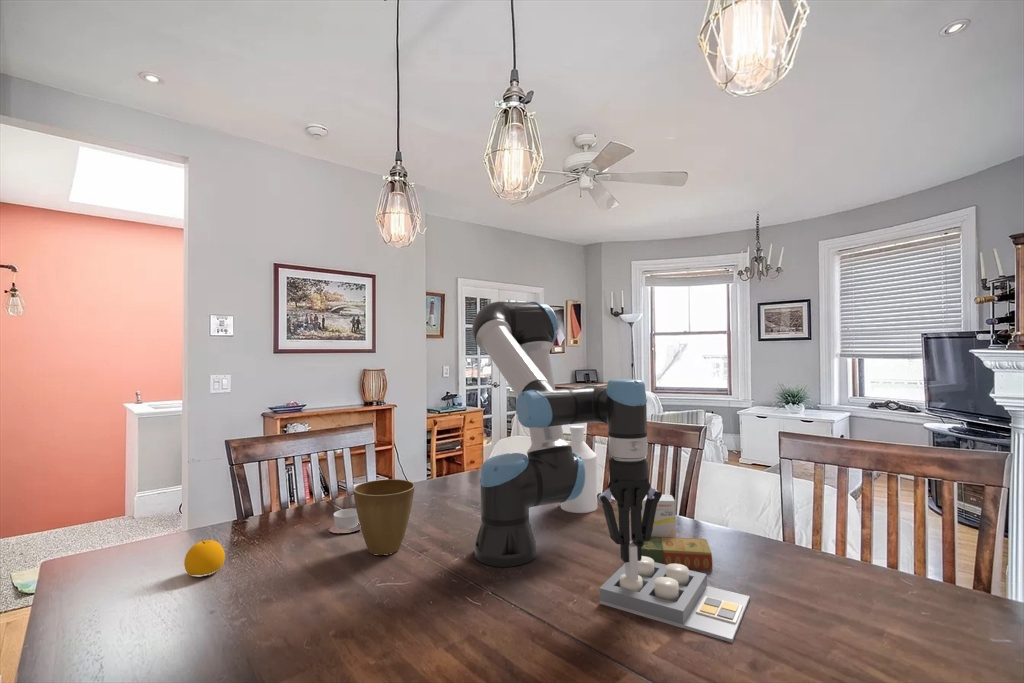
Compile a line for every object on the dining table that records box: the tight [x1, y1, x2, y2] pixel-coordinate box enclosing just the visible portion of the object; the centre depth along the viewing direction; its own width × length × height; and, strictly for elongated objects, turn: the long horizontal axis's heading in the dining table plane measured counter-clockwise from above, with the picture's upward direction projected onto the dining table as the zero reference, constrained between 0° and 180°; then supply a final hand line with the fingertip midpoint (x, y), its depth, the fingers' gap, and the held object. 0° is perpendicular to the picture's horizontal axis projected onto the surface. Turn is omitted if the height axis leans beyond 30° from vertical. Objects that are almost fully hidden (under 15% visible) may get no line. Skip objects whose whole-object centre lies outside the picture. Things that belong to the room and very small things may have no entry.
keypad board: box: [599, 562, 751, 643], centre depth 97 cm, size 24×17×3 cm
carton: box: [641, 536, 713, 571], centre depth 116 cm, size 8×16×4 cm, turn 77°
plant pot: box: [352, 478, 415, 555], centre depth 125 cm, size 15×15×16 cm
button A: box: [620, 574, 643, 592], centre depth 99 cm, size 4×4×3 cm
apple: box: [184, 539, 226, 576], centre depth 113 cm, size 8×8×8 cm
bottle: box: [560, 425, 598, 514], centre depth 156 cm, size 12×12×25 cm
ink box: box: [641, 493, 677, 538], centre depth 125 cm, size 9×5×12 cm, turn 83°
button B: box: [638, 556, 654, 578], centre depth 104 cm, size 4×4×3 cm
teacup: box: [333, 508, 359, 529], centre depth 141 cm, size 10×10×5 cm
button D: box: [666, 564, 690, 586], centre depth 100 cm, size 4×4×3 cm
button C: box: [654, 577, 679, 602], centre depth 95 cm, size 4×4×3 cm
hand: (631, 577), depth 98 cm, fingers closed
